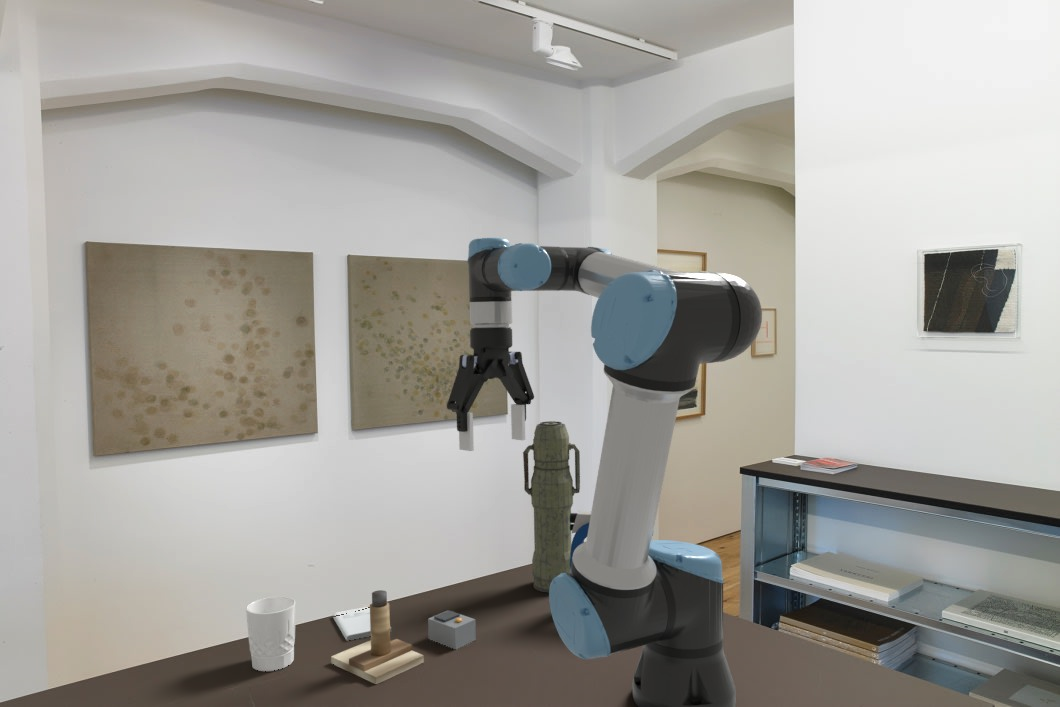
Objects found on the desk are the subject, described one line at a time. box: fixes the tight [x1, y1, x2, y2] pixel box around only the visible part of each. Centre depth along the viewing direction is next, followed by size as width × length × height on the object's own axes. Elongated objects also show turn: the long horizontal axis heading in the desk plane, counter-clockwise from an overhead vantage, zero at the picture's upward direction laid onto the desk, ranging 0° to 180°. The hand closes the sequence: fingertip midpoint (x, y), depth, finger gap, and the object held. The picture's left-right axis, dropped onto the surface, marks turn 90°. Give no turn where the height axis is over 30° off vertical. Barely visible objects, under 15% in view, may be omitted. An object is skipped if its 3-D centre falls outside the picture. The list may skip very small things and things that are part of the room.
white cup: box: [245, 596, 296, 672], centre depth 131 cm, size 8×8×10 cm
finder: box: [427, 609, 477, 650], centre depth 139 cm, size 7×5×4 cm
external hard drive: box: [332, 605, 392, 642], centre depth 147 cm, size 2×8×12 cm
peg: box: [369, 589, 391, 656], centre depth 129 cm, size 3×3×10 cm
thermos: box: [522, 420, 581, 594], centre depth 165 cm, size 9×12×35 cm
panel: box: [330, 638, 425, 685], centre depth 130 cm, size 12×10×2 cm
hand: (493, 444), depth 139 cm, fingers open, 13 cm apart
